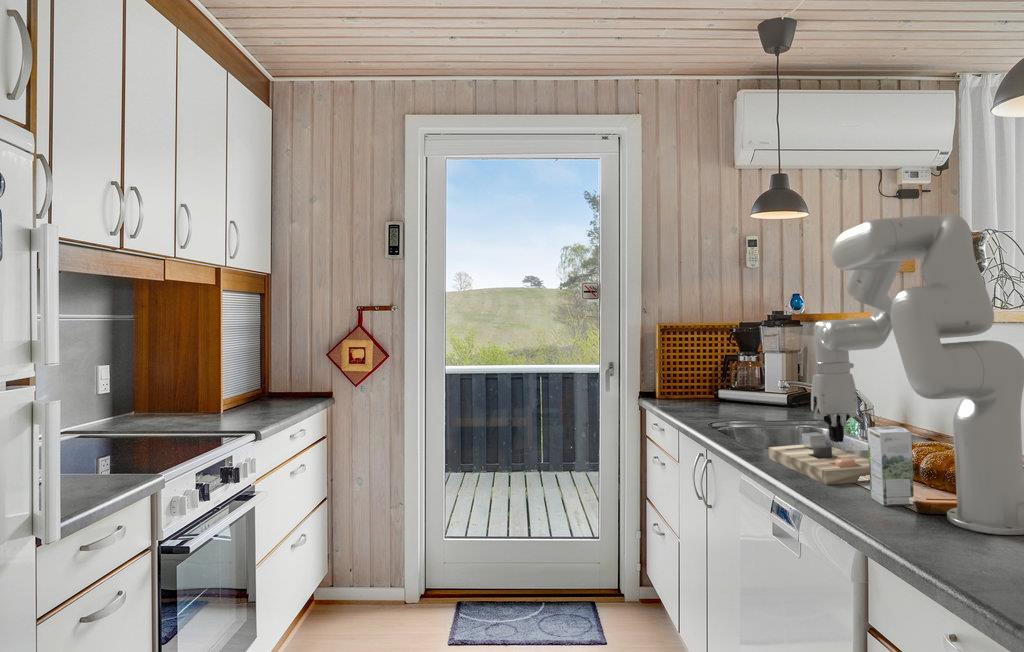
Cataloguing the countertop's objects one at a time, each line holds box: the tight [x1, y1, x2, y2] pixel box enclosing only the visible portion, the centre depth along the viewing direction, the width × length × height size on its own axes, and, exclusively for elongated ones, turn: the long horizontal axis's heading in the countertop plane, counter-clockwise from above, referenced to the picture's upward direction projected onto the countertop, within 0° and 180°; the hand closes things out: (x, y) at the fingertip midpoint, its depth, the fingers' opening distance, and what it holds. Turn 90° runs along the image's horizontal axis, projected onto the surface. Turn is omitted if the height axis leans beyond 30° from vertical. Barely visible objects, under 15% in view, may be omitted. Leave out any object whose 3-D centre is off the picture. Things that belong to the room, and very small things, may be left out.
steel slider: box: [801, 431, 827, 448], centre depth 164 cm, size 4×4×3 cm
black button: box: [813, 444, 833, 459], centre depth 155 cm, size 4×4×3 cm
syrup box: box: [867, 425, 915, 507], centre depth 127 cm, size 6×6×14 cm
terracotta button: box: [835, 458, 855, 468], centre depth 146 cm, size 4×4×3 cm
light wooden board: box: [768, 444, 870, 486], centre depth 155 cm, size 26×14×3 cm, turn 5°
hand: (836, 441), depth 164 cm, fingers closed
